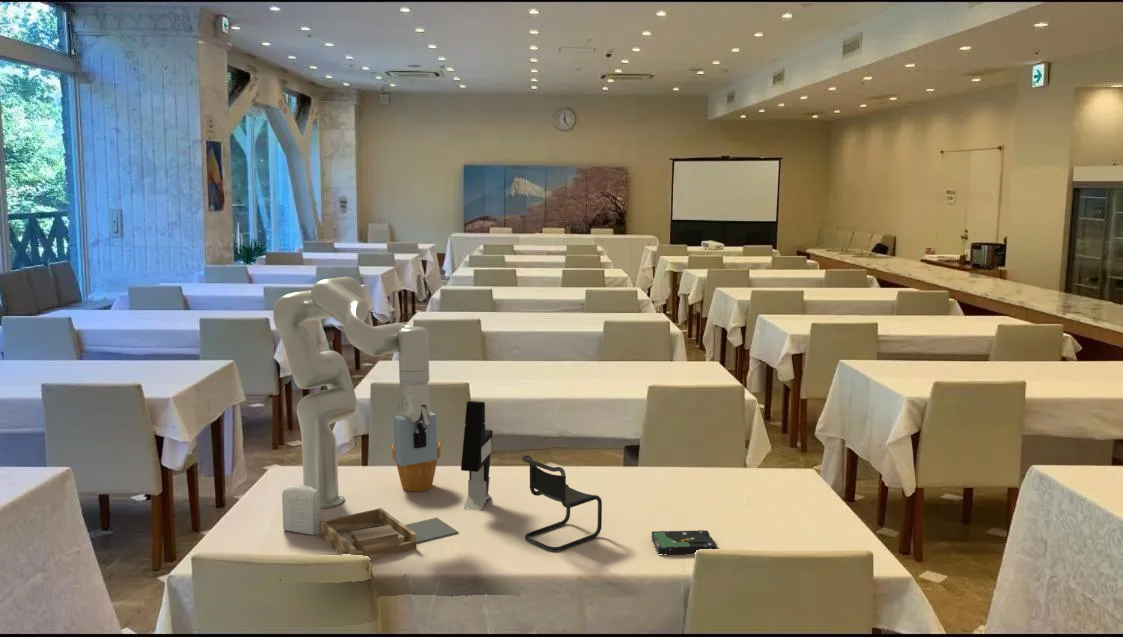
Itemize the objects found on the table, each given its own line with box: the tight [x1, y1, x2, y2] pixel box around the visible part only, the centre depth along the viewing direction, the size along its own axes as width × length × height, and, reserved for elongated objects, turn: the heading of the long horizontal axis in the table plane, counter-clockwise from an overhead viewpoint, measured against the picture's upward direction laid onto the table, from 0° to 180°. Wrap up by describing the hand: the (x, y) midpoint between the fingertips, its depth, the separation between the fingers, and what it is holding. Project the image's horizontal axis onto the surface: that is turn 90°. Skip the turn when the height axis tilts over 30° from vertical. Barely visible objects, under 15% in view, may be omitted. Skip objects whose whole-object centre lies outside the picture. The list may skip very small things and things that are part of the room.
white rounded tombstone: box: [281, 484, 322, 536], centre depth 242 cm, size 10×4×12 cm, turn 73°
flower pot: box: [391, 440, 441, 492], centre depth 276 cm, size 14×14×13 cm
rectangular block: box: [393, 411, 438, 466], centre depth 239 cm, size 4×10×12 cm, turn 124°
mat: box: [404, 517, 459, 544], centre depth 244 cm, size 12×12×1 cm
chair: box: [521, 455, 603, 552], centre depth 239 cm, size 13×17×22 cm
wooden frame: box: [319, 507, 418, 561], centre depth 236 cm, size 21×17×4 cm
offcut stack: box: [350, 525, 405, 554], centre depth 232 cm, size 8×12×4 cm, turn 125°
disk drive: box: [651, 529, 718, 556], centre depth 235 cm, size 10×3×15 cm
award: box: [460, 400, 494, 511], centre depth 262 cm, size 15×5×30 cm, turn 168°
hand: (416, 444), depth 239 cm, fingers closed on rectangular block, 4 cm apart
